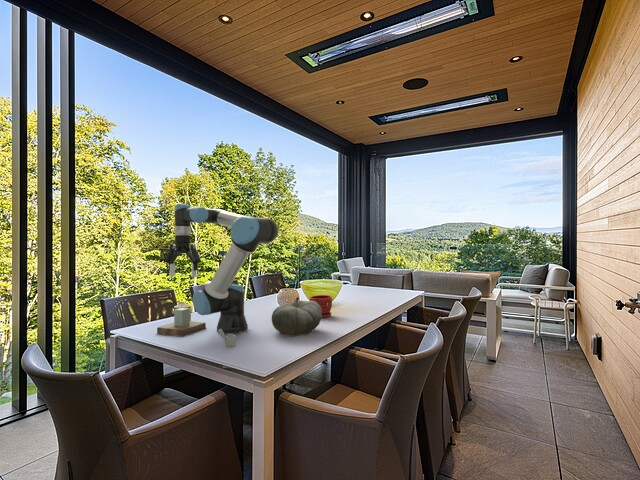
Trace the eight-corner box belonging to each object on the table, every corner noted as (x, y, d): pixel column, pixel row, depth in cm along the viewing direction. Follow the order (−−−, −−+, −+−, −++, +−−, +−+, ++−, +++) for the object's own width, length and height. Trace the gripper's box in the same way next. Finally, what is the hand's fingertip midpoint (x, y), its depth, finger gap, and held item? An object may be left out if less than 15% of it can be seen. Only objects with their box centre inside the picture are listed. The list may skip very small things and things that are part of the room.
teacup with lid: (193, 322, 191) (193, 301, 192) (176, 325, 186) (176, 303, 186) (187, 319, 201) (187, 299, 201) (170, 321, 196) (170, 300, 196)
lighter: (234, 345, 148) (234, 326, 148) (235, 346, 147) (235, 327, 147) (217, 347, 144) (217, 328, 145) (219, 348, 143) (218, 329, 143)
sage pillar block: (189, 324, 175) (189, 308, 175) (182, 326, 170) (182, 310, 170) (181, 323, 177) (181, 307, 177) (174, 325, 172) (174, 309, 172)
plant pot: (318, 313, 213) (318, 294, 213) (336, 316, 206) (336, 295, 206) (305, 317, 203) (305, 296, 203) (323, 320, 195) (323, 298, 195)
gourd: (334, 324, 172) (328, 290, 171) (306, 345, 151) (298, 307, 150) (295, 323, 186) (289, 292, 185) (264, 342, 165) (257, 307, 164)
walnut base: (205, 328, 178) (205, 322, 178) (183, 336, 163) (182, 330, 163) (181, 326, 184) (181, 320, 184) (157, 333, 169) (157, 327, 169)
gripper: (157, 235, 176) (158, 276, 175) (198, 234, 167) (198, 278, 167) (168, 235, 183) (169, 275, 183) (208, 234, 175) (208, 276, 174)
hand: (183, 276), depth 175 cm, fingers open, 13 cm apart
